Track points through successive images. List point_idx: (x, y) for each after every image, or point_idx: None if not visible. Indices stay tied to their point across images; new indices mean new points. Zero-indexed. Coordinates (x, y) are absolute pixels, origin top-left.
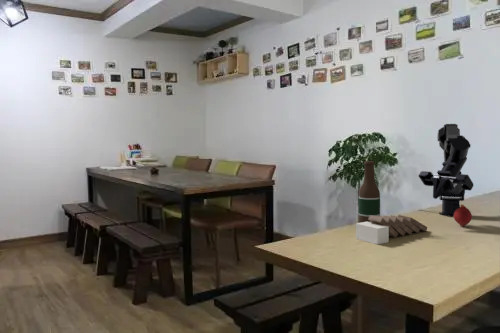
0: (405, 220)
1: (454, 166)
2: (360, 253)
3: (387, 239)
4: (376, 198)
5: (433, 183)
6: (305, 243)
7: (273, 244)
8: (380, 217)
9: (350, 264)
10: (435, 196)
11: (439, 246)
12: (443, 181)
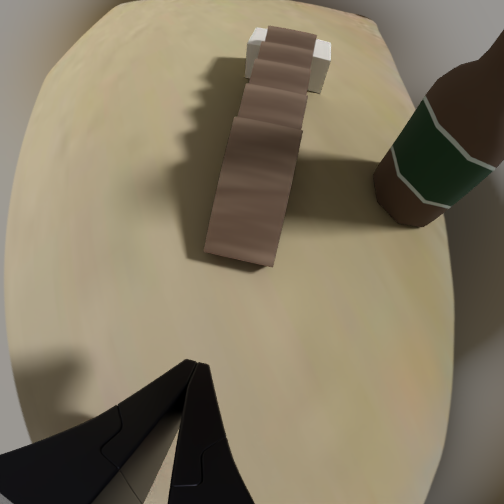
0: (242, 100)
1: None
2: (245, 25)
3: (245, 69)
4: (427, 102)
5: (238, 489)
6: (351, 35)
7: (371, 27)
8: (275, 27)
9: (227, 5)
10: (181, 363)
11: (122, 113)
12: (37, 460)
